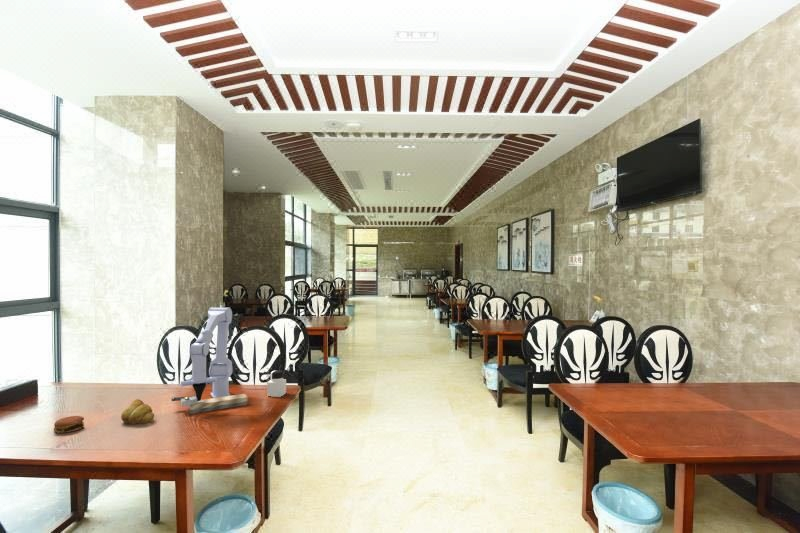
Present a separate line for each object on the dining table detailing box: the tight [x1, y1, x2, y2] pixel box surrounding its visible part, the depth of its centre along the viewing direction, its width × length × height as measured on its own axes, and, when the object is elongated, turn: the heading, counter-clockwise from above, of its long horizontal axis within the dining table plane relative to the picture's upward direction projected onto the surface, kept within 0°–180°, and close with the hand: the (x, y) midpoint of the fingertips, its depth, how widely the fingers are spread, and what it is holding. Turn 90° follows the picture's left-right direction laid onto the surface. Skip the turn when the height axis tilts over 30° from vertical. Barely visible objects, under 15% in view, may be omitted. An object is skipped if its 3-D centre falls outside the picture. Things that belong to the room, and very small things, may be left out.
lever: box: [171, 394, 197, 402], centre depth 189 cm, size 10×2×5 cm, turn 115°
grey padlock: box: [266, 369, 287, 398], centre depth 212 cm, size 7×7×12 cm
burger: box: [53, 415, 85, 434], centre depth 164 cm, size 10×9×5 cm
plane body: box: [188, 393, 249, 414], centre depth 192 cm, size 24×7×4 cm, turn 123°
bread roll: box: [120, 398, 155, 425], centre depth 173 cm, size 13×10×8 cm
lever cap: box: [180, 395, 197, 408], centre depth 186 cm, size 5×6×3 cm
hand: (198, 400), depth 188 cm, fingers closed
